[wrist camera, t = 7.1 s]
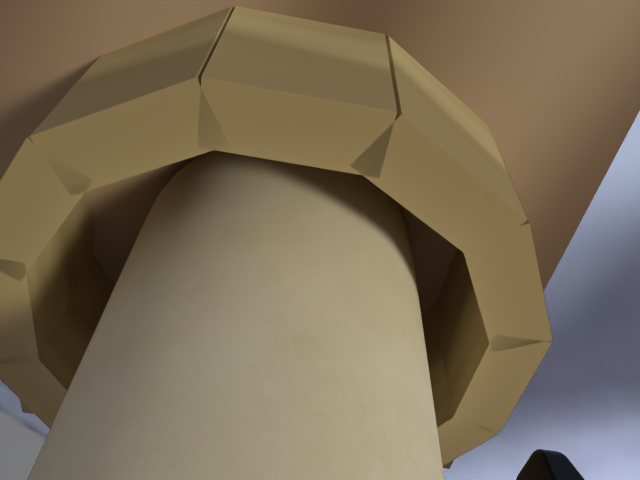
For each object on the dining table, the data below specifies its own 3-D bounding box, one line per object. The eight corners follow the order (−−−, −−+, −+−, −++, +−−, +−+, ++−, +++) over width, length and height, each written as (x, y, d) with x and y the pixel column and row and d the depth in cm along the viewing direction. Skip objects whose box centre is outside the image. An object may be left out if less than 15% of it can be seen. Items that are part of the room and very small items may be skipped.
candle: (288, 372, 15) (226, 1016, 7) (98, 247, 13) (-285, 975, 5) (464, 250, 13) (659, 1023, 5) (267, 72, 11) (33, 950, 3)
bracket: (695, -64, 10) (858, 7, 7) (444, 438, 18) (465, 577, 15) (-59, -223, 9) (-277, -225, 6) (37, 382, 17) (-32, 518, 14)
